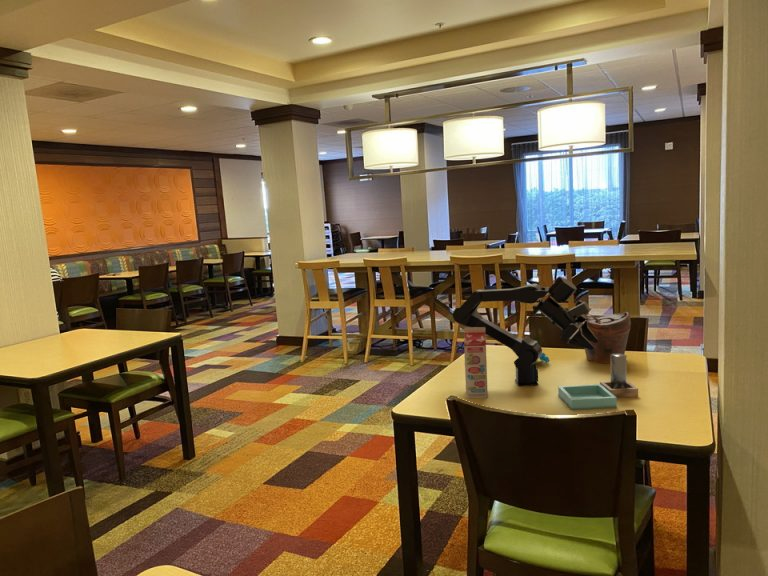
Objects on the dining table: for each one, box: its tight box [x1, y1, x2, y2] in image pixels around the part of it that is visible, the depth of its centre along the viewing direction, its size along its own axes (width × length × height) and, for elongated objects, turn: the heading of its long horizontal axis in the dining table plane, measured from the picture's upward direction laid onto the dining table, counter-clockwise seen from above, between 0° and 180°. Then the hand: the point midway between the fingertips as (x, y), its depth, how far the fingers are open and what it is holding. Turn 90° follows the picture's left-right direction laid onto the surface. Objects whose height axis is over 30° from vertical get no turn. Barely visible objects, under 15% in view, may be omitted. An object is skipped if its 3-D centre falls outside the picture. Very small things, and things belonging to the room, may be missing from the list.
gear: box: [538, 352, 551, 363], centre depth 221 cm, size 11×6×10 cm
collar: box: [599, 379, 639, 399], centre depth 183 cm, size 8×8×2 cm
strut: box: [610, 353, 627, 389], centre depth 182 cm, size 4×4×12 cm
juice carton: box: [463, 326, 489, 399], centre depth 187 cm, size 7×7×22 cm
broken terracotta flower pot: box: [583, 311, 632, 364], centre depth 220 cm, size 18×20×18 cm
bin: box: [557, 383, 618, 411], centre depth 177 cm, size 13×13×3 cm
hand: (595, 345), depth 186 cm, fingers open, 9 cm apart
